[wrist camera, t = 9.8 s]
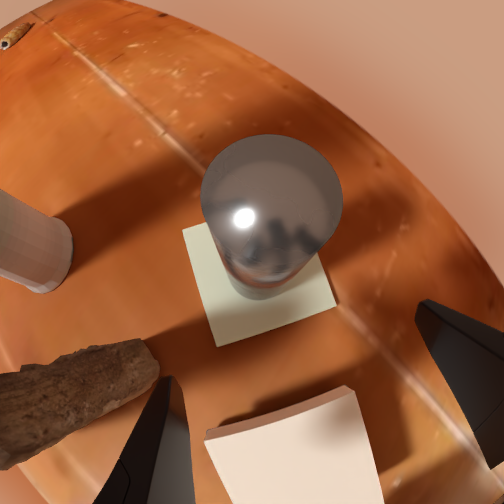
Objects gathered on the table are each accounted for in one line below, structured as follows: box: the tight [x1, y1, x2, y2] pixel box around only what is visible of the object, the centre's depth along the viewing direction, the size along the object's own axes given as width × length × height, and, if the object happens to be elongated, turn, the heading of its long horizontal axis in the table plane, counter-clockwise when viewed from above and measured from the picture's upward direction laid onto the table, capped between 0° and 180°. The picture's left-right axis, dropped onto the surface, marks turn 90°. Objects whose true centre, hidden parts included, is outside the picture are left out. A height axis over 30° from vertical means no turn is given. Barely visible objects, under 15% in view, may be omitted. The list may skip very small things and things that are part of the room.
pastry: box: [0, 22, 31, 50], centre depth 34 cm, size 9×7×4 cm
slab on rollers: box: [204, 384, 384, 504], centre depth 15 cm, size 11×10×5 cm
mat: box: [182, 222, 337, 347], centre depth 21 cm, size 9×9×1 cm
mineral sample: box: [0, 338, 160, 470], centre depth 11 cm, size 17×4×15 cm, turn 121°
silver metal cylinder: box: [200, 134, 343, 301], centre depth 15 cm, size 4×4×12 cm
